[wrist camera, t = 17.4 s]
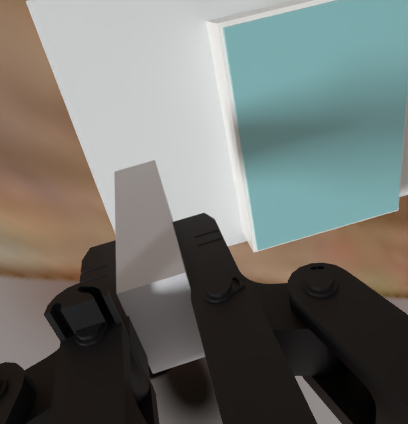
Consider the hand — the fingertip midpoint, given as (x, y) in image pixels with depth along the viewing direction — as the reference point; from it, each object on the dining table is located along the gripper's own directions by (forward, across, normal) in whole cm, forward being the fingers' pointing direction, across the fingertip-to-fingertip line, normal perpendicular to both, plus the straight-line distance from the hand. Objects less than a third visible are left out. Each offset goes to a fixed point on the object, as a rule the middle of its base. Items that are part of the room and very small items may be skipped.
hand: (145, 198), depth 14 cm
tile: (+5, +5, -1) cm, 7 cm away
